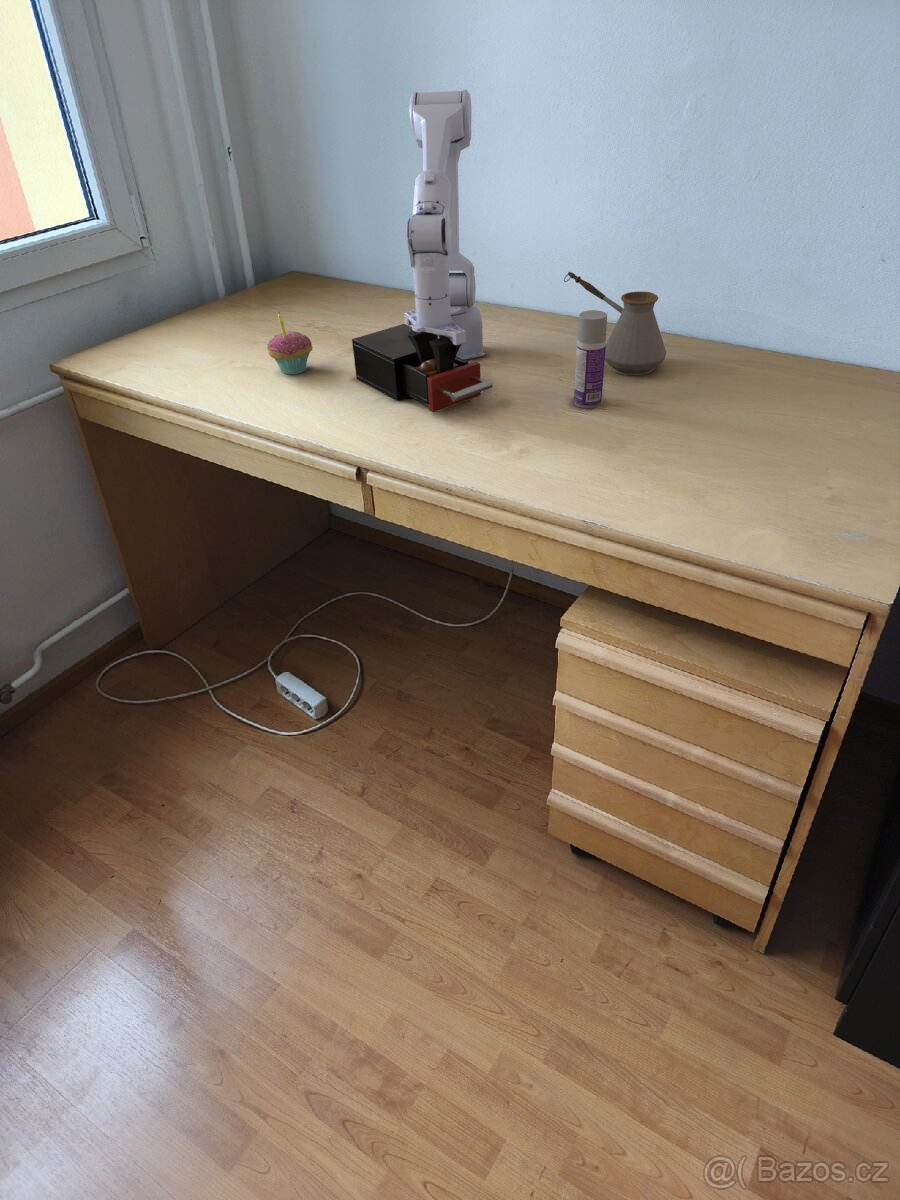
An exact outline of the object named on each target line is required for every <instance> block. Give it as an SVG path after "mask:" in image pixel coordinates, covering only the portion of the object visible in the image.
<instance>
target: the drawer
mask: <svg viewBox="0 0 900 1200" xmlns="http://www.w3.org/2000/svg"><path fill="white" fill-rule="evenodd" d="M454 363H456V364H458V368H455V369H452V370H449V371H446V372H443V373H440V374H437V375H434V376H431V377H430V375H429V374H428V373H426V372H424V371H421V370H419V369H417V368H415V367H418V366H421V364H420V360H419V357H418V356H416V357H413V358H410V359H407V360H404V361H400V362H398V370H399V382H400V391H401V392H403V393H405V394H407V395H409V396H410V397H411V398H413V399H415V400H417V401H419V402H421V403H423V404H424V405H427V406H428V411H429V412H431V413H433V414H434V413H437V412H439V411H442V410H445V409H448V408H450V407H453V406H455V405H459V404H462V403H464V402H467V401H469V400H472V399H475V398H478V397H480V396H482V392H485V391H487V390H490V389H492V388H493V381H492V380H491V379H487V380H485V379H482V377H481V362H479V361H473V362H469V361H468V360H467V359H466V360H463V359H461V358H459V357H457V356H456V358H455V361H454Z"/></svg>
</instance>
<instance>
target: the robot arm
mask: <svg viewBox="0 0 900 1200" xmlns="http://www.w3.org/2000/svg"><path fill="white" fill-rule="evenodd" d="M409 124H410V129H411V132H412V134H413V136H414V139H415V142H416V144H417V146H418V148H420V149H422V172H420V173H419V174H418V175H417V177H416V178H415V180H414V189H413V202H412V212H411V218H407V222H406V230H405V231H406V232H405V233H406V234H405V235H406V245H407V249H408V253H409V262H410V263H409V264H410V267H412V274H413V275H412V276H413V290H414V304H415V309H414V310H413V309H412V310H410V311H406V312H404V324H405V325H408V326H411V327H412V330H413V331H410V332H408V338H409V339H410V340H411V342H412V344H413V346H414V347H415V350H416V352H417V355H418V357H419V360H420V364H422V363H423V362H425V361H428V360H431V359H434V358H435V359H436V364H437V372H438V374H440V373H443V372H446V371H449V370H452V369H453V365H454V361H455V358H456V356H457V357H459V358H461V359H463V360H466V361H467V360H470V359H475V358H476V359H477V358H480V357H484V356H485V352H484V342H483V340H484V336H483V318H482V314H481V310H480V309H479V308H478V306H477V305H476V296H477V295H476V294H477V293H476V275H475V266H474V263H473V262H472V261H471V260H470V259H468V258H467V257H466V256H464V254H462V253H461V252H460V215H459V214H460V206H459V201H460V199H459V161H460V157H461V152H462V151H463V150H465V149H467V148H469V147H470V146H471V140H472V97H471V93H470V92H469V90H467V89H463V90H451V91H427V92H426V91H424V92H418V91H413V92H412V94H411V95H410V97H409ZM451 271H452V272H451ZM453 271H454V272H453ZM455 271H456V272H455ZM458 271H459V272H458ZM437 338H439V339H437Z"/></svg>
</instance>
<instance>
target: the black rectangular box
mask: <svg viewBox="0 0 900 1200" xmlns="http://www.w3.org/2000/svg"><path fill="white" fill-rule="evenodd" d="M410 331H413V330H412V326H411V325H406V324H405V323H402V324H399V325H395V326H391V327H388V328H384V329H382V330H381V329H380V330H378V331H374V332H371V333H368V334H365V335H361V336H358V337H355V338H351V343H352V352H353V360H354V368H355V375H356V376H355V377H356V380H358V381H360V382H361V383H363V384H365V385H367V386H369V387H370V388H373V389H374V390H377V391H378V392H380V393H382V394H384V395H385V396H388V397H390V398H392V399H393V400H395V401H401V400H404V399H407V398H410V397H411V396H409V395H407V394H405V393H403V392H401V391H400V382H399V370H398V362H400V361H404V360H407V359H410V358H413V357H416V356H418V355H417V352H416V350H415V347H414V346H413V344H412V342H411V340H410V339H409V338H408V332H410ZM437 339H439V338H437Z"/></svg>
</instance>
